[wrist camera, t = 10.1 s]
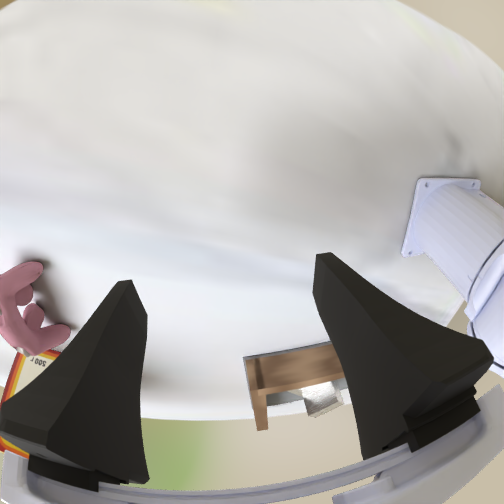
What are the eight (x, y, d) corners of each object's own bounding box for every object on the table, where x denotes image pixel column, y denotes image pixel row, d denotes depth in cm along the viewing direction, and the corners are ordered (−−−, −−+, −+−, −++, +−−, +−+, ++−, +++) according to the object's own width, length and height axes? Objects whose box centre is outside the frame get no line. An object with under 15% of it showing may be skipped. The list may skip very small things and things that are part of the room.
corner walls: (390, 325, 31) (405, 352, 27) (363, 381, 40) (371, 402, 36) (244, 357, 30) (250, 390, 26) (253, 406, 38) (257, 430, 35)
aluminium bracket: (333, 373, 35) (344, 403, 31) (307, 387, 36) (315, 417, 32) (312, 361, 32) (323, 396, 27) (283, 377, 33) (291, 411, 29)
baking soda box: (35, 366, 28) (14, 462, 15) (21, 340, 24) (-10, 448, 12) (91, 382, 30) (79, 486, 18) (83, 358, 27) (63, 480, 14)
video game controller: (22, 246, 19) (-28, 287, 14) (44, 260, 18) (-12, 309, 13) (52, 318, 25) (15, 356, 19) (76, 335, 24) (37, 379, 18)
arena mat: (386, 326, 31) (388, 329, 30) (360, 382, 40) (361, 384, 39) (242, 357, 30) (243, 360, 29) (251, 406, 38) (252, 409, 38)
